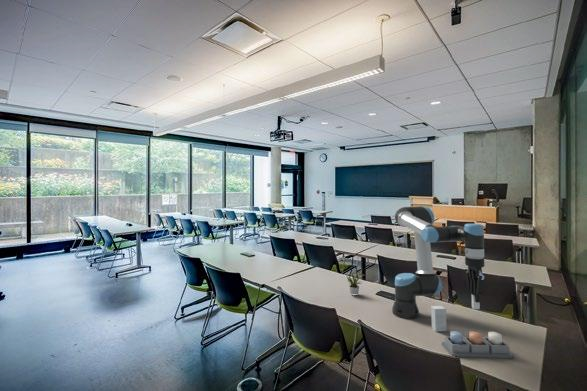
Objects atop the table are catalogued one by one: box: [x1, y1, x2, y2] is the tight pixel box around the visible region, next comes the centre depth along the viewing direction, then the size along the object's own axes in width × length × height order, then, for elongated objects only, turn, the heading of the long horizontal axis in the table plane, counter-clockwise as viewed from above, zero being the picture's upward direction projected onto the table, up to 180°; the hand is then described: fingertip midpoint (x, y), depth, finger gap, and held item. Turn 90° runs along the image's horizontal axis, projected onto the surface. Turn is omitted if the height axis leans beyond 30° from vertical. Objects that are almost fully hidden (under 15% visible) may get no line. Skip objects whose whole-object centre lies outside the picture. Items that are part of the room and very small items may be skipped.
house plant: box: [346, 272, 364, 295], centre depth 205 cm, size 14×14×16 cm
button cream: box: [487, 331, 503, 345], centre depth 130 cm, size 5×5×4 cm
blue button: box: [449, 330, 464, 344], centre depth 132 cm, size 5×5×4 cm
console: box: [441, 336, 514, 359], centre depth 131 cm, size 10×26×4 cm, turn 86°
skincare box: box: [430, 305, 447, 333], centre depth 151 cm, size 6×4×12 cm
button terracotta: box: [468, 330, 483, 345], centre depth 131 cm, size 5×5×4 cm
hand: (475, 308), depth 131 cm, fingers closed
